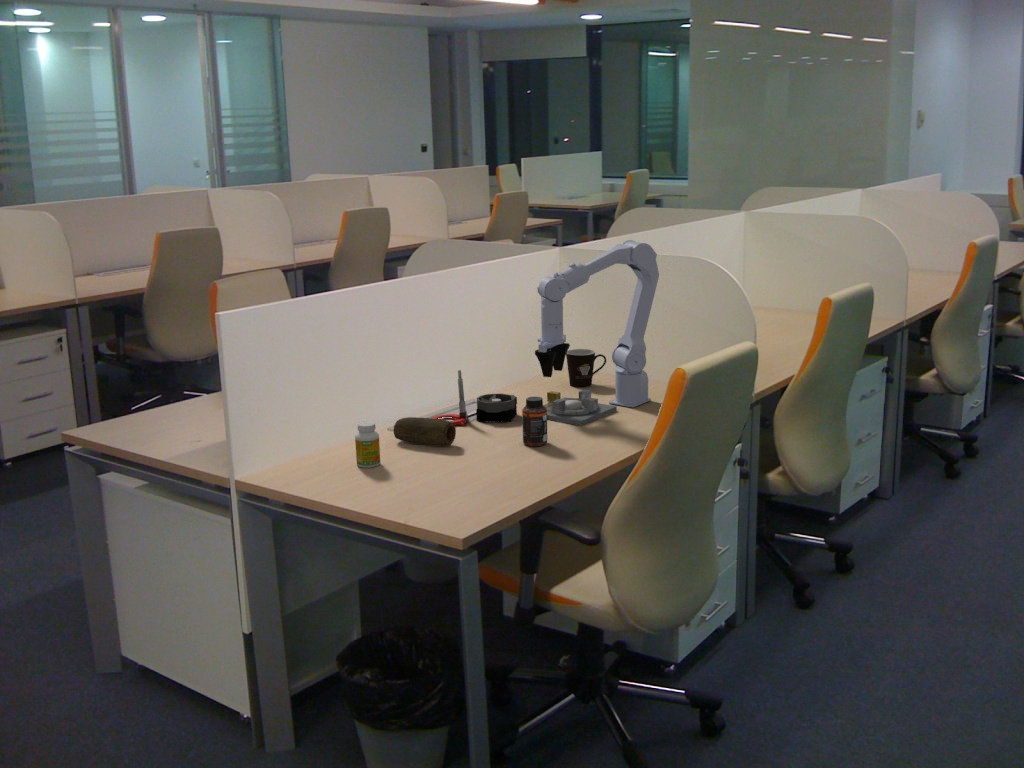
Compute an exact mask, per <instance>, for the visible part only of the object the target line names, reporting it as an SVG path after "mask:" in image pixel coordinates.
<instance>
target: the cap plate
mask: <svg viewBox="0 0 1024 768" xmlns="http://www.w3.org/2000/svg"><path fill="white" fill-rule="evenodd" d="M565 398H566V397H565V396H564V397H562V398H561V399H565ZM543 406H545V407H546V406H547V403H546V404H543ZM617 406H618V405H612V404H611V405H610V404H605V403H604V404H603V403H599V402H598V410H597V411H595V412H593V413H590V414H585V415H577V416H576V415H559V414H554V413H551V412H549V411H547V421H548V420H549V421H553V422H554V421H555V422H559V423H564V424H571V425H575V426H580V427H581V426H584V425H586V424H588V423H590V422H593V421H596V420H598V419H600V418H603V417H606V416H608V415H610V414H612V413H615V412H617ZM581 409H586V408H584V404H582V402H581V401H579V400H566V401H565V410H581Z"/></svg>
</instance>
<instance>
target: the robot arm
mask: <svg viewBox="0 0 1024 768" xmlns="http://www.w3.org/2000/svg"><path fill="white" fill-rule="evenodd" d="M657 256H658V254H657V253H656V251H655V249H654V248H653V247H652V246H651V244H648V243H647V242H639V241H635V240H631V239H629V240H626V241H623V242H622V243H617V244H616V245H614V246H613V247H612V248H610V249H608V250H607V251H605V252H603V253H602V254H599V255H598V256H596V257H595V258H593V259H592V260H589V261H588V262H587V263H584V264H582V263H579V262H577V263H575V262H574V263H573V262H571V263H570V264H568V267H567V268H566V269H563V270H561V271H560V272H558V271H556V272H553V277H552V276H546V277H544V278H542V279H541V281H540V282H539V285H538V286H537V287H536V288H537V293H538V294H539V296H540V297H541V298H540V300H541V301H540V304H541V305H540V308H541V309H540V311H541V312H540V314H541V316H540V318H541V319H540V321H541V323H540V324H541V337H539V338H537V342H538V343H539V344H538V349H535V350H534V355H535V356H536V358H537V360H538V362H539V365H540V369H541V372H542V377H544V378H551V377H552V376H553V372H554V371H560V372H562V371H563V369H564V363H565V359H566V353H567V351H568V350H570V349H569V348H570V346H571V344H570V343H567V334H564V306H563V305H564V303H563V302H564V298H565V297H566V294H569V293H570V292H572V291H573V290H576V289H578V288H580V287H581V286H584V285H585V284H587V283H588V282H589V280H590V277H591V276H592V275H595V274H596V273H599V272H601V271H603V270H606V269H607V268H610V267H613V266H614V265H616V264H619V265H627V266H628V267H630V268H631V270H632V271H633V273H634V274H635V275H636V278H637V281H636V285H635V288H634V292H633V297H632V300H631V305H630V310H629V313H628V318H627V320H626V321H627V322H626V325H625V326H626V327H625V331H624V333H623V335H622V336H621V337H620V338H619V339H618V342H617V345H616V346H615V347H614V349H613V351H612V354H611V359H612V363H613V364H614V365H615V398H614V399H613V400H610V401H609V402H608V403H609V405H610V404H611V405H614V406H623V407H627V408H636V407H638V406H640V405H643V404H645V403H647V402H650V401H651V400H652V398H649V376H648V373H647V372H646V371H645V370H644V369H645V367H646V364H647V358H646V350H647V346H646V342H645V340H644V338H645V335H646V331H647V326H648V323H649V318H650V315H651V310H652V306H653V302H654V298H655V295H656V290H657V285H658V282H659V278H660V273H659V268H658V262H657ZM553 370H554V371H553Z"/></svg>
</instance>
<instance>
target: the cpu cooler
mask: <svg viewBox="0 0 1024 768" xmlns="http://www.w3.org/2000/svg"><path fill="white" fill-rule="evenodd" d="M517 397H518V396H516V395H515V394H507V393H487V394H482V395H479V396H478V397H476V409H475V410H476V411H475V412H476V421H478V422H480V423H481V422H483V423H486V422H487V423H501V424H502V423H503V424H505V423H511V422H512V421H513V420H514V418H515V417H516V416H517V414H518V413H517V411H518V410H517V408H518V407H517V405H518V398H517Z"/></svg>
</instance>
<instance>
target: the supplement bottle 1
mask: <svg viewBox="0 0 1024 768" xmlns="http://www.w3.org/2000/svg"><path fill="white" fill-rule="evenodd" d="M357 431H358V432H356V434H355V435H354V439H355V440H354V441H355V455H356V456H355V457H356V465H357V466H358V467H360V468H364V469H371V468H376V467H378V466H379V465H380V464H381V449H380V447H381V446H380V434H379V433H378V431H376V423H375V422H373V421H367V420H366V421H361V422H359V423H357Z"/></svg>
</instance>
